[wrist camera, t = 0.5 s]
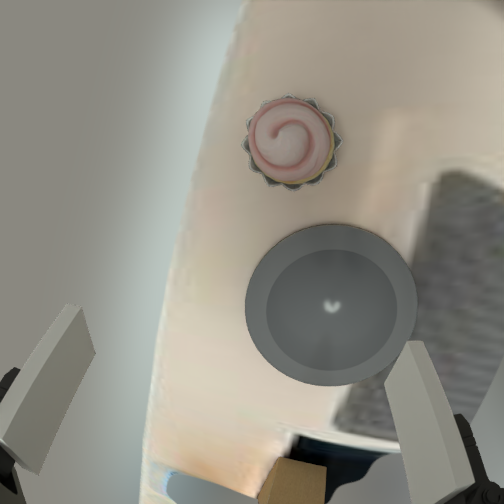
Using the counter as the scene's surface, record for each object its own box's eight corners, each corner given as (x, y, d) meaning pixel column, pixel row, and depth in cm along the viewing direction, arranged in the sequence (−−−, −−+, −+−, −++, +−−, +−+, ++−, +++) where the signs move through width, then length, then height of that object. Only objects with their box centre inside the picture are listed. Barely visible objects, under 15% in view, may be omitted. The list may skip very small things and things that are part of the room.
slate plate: (335, 185, 33) (336, 185, 32) (445, 311, 33) (448, 316, 32) (214, 304, 39) (210, 308, 38) (323, 404, 40) (322, 410, 38)
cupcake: (307, 88, 31) (299, 57, 22) (355, 160, 32) (367, 155, 23) (236, 133, 34) (203, 120, 25) (282, 205, 35) (265, 217, 25)
